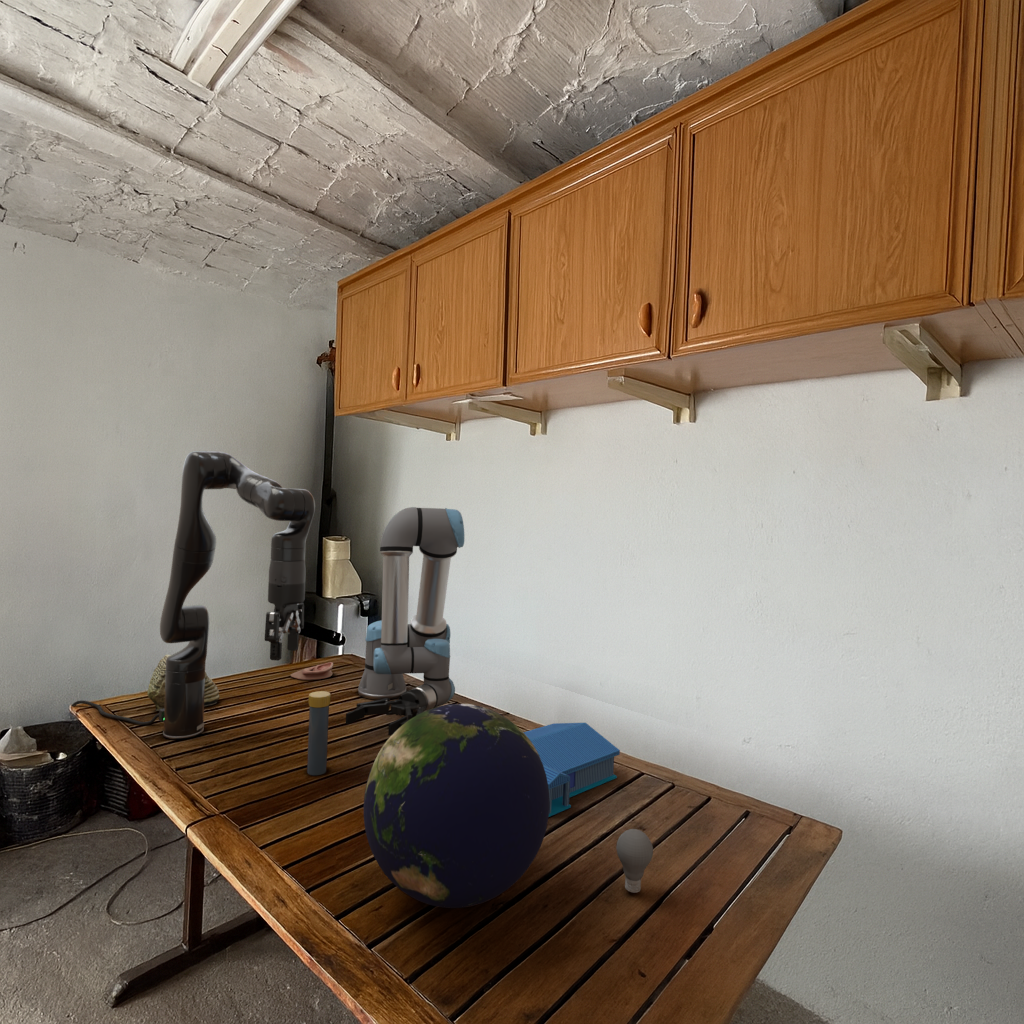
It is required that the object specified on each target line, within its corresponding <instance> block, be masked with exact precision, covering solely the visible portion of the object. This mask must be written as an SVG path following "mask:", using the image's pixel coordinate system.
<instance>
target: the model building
mask: <svg viewBox="0 0 1024 1024" xmlns="http://www.w3.org/2000/svg"><path fill="white" fill-rule="evenodd" d="M523 733H524V734H525V735H526V736H527V737H528V738H529V739H530V741H531V742H532V744H533V745H534V747H535V749H536V750H537V752H538V754H539V756H540V759H541V761H542V764H543V766H544V770H545V773H546V777H547V782H548V788H549V817H552V816H555V815H557V814H559V813H562V812H563V811H566V810H569V809H571V808H572V805H571V804H570V798H572V797H575V796H577V795H580V794H582V793H585V792H587V791H589V790H591V789H594V788H597V787H599V786H601V785H603V784H605V783H609V782H610V781H613V780H615V779H617V778H618V776H617V775H616V774H614V771H615V770H614V768H615V767H614V765H615V757H617V756H620V754H621V750H620V749H619V748H618V747H617V746H616V745H614V744H613V743H612V742H611V741H610V740H607V738H605V737H604V736H603V735H601V734H600V733H599V732H598V731H597V730H596V729H594V728H593V727H592V726H591V725H589V724H588V723H587V722H560V723H559V722H558V723H555V722H554V723H550V724H546V725H544V726H543V725H542V726H540V727H537V728H533V729H530V730H526V731H523ZM549 817H548V818H549Z"/></svg>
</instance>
